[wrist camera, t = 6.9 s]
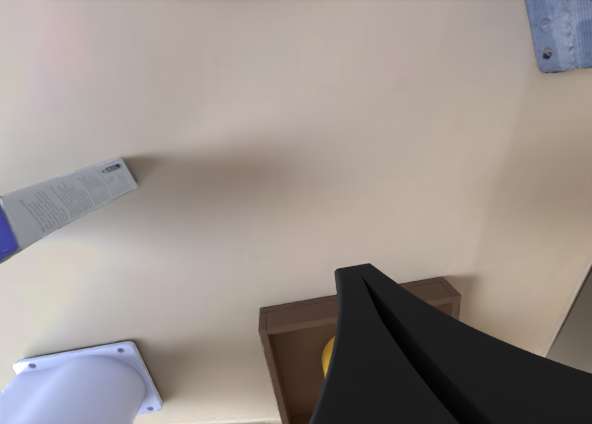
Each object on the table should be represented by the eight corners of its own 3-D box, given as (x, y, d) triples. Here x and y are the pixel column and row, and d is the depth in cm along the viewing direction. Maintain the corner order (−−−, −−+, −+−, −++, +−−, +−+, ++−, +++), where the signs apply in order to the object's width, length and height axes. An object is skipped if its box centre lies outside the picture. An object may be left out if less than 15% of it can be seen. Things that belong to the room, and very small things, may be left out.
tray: (285, 414, 27) (286, 442, 25) (259, 308, 22) (258, 330, 20) (436, 387, 28) (450, 412, 25) (442, 276, 23) (461, 294, 21)
